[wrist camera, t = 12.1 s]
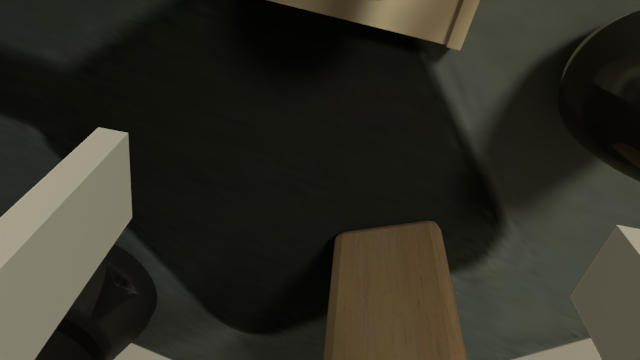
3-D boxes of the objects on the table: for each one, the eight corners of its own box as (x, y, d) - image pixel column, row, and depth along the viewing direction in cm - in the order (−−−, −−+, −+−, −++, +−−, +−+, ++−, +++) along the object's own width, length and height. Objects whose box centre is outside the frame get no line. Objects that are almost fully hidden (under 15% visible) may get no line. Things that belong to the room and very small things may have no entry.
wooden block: (449, 291, 48) (491, 511, 31) (354, 301, 50) (345, 512, 33) (438, 214, 43) (481, 427, 26) (332, 229, 45) (310, 435, 28)
